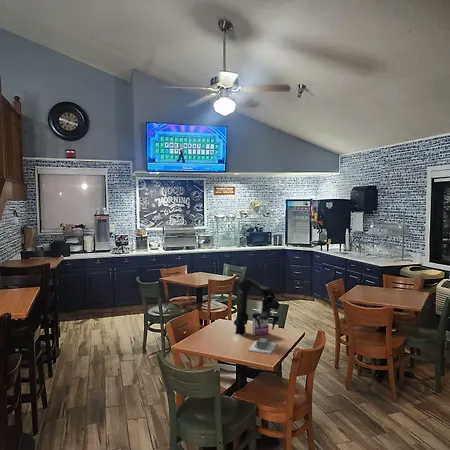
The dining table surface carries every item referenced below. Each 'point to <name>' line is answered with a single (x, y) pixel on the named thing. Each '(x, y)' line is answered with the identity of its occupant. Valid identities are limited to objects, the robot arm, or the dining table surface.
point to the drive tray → (268, 349)
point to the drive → (262, 343)
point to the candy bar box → (262, 329)
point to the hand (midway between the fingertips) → (266, 328)
